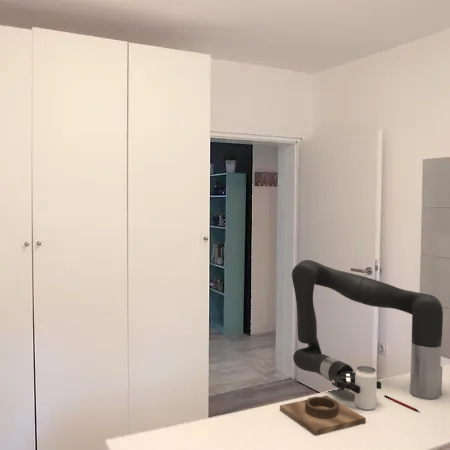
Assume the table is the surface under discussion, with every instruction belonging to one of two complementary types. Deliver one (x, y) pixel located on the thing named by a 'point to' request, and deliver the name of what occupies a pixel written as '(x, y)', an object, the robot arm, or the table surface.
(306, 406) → the socket board
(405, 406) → the pencil
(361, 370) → the can
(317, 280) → the robot arm
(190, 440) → the table surface
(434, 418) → the table surface
